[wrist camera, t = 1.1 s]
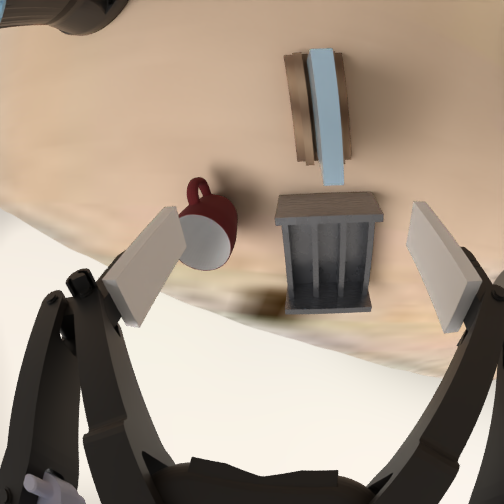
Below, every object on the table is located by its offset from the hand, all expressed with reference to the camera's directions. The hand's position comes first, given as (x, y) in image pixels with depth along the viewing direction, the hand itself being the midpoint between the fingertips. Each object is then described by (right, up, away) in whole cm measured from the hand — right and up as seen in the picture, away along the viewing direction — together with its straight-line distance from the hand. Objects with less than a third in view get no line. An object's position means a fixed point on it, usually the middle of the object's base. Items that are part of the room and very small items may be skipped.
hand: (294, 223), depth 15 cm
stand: (+6, +17, +16) cm, 24 cm away
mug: (-7, +6, +26) cm, 28 cm away
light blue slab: (+6, +16, +15) cm, 23 cm away
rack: (+9, 0, +27) cm, 28 cm away
